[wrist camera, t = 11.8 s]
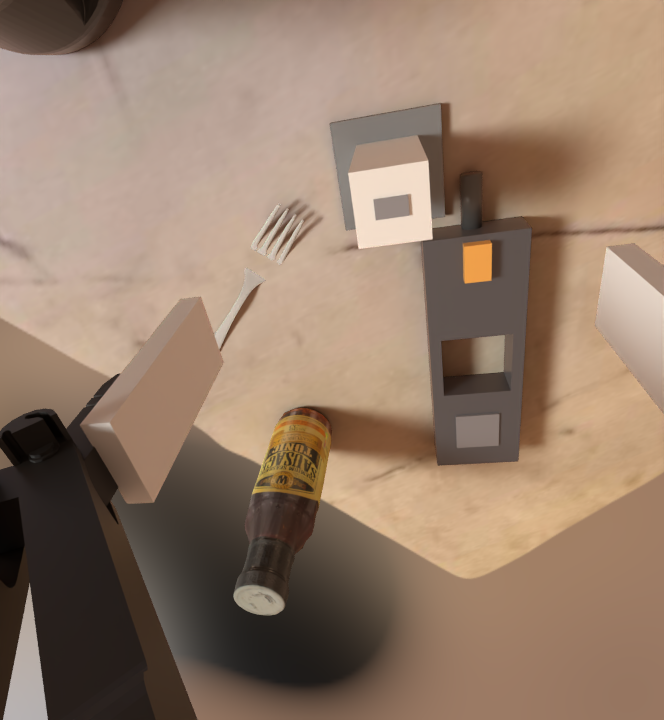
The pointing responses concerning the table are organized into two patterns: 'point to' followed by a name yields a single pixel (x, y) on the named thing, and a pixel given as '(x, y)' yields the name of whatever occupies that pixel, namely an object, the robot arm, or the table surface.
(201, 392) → the robot arm
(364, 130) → the mat
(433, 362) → the power strip
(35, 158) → the table surface
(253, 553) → the sauce bottle
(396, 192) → the block
